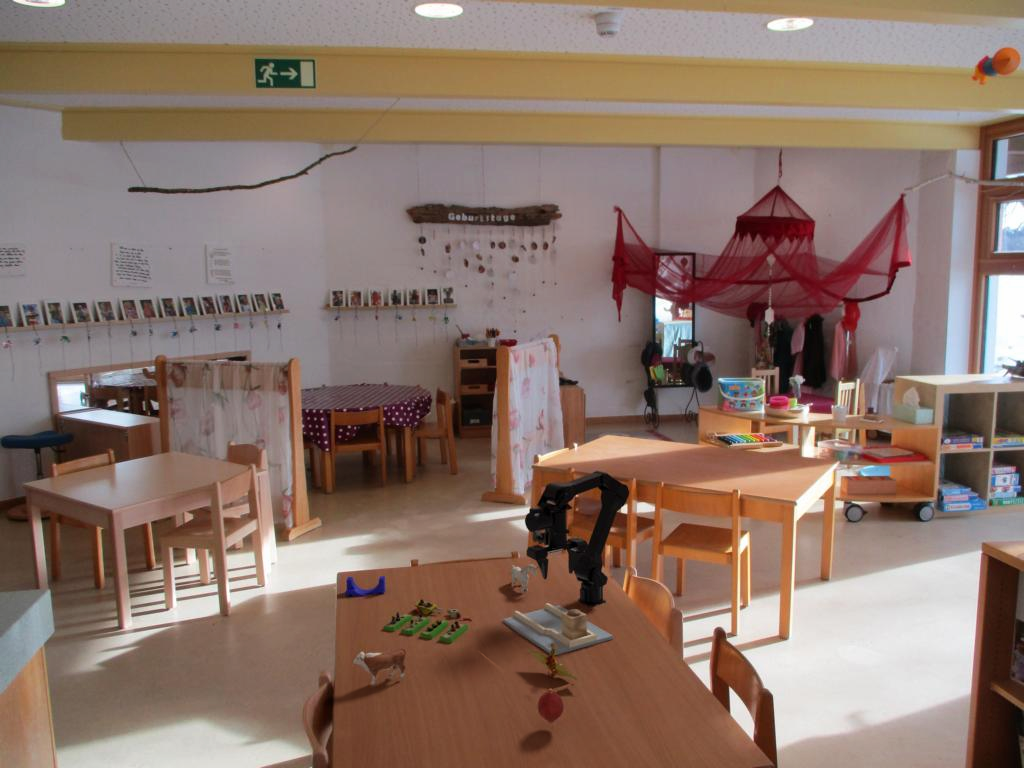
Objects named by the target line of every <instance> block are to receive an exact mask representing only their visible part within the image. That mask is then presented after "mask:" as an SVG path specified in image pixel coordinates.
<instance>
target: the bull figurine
mask: <svg viewBox="0 0 1024 768" xmlns="http://www.w3.org/2000/svg"><path fill="white" fill-rule="evenodd" d="M406 653H407V652H406V650H405V648H403V647H398V648H397V649H390V650H387V651H383V652H382V651H381V652H368V653H367V651H360V653H358V654H357V656H356V657H355V658H354V660H353V661H352V663H353V665H357V664H358V665H359V666H360V667H363V670H365V671H366V672H367V673H368V674H371V676H372V679H371V682H370V684H369V685H370V686H375V684H376V680H377V679H378V676H377V675H378V673H379V671H386V672H388V671H389V670H390V669H391V668H392V669H391V671H390V673H388V677H392V676H393V675H394V674H395V673H396V670H398V671H399V670H400V674H399V679H403V677H404V676H405V670H406V666H405V664H404V662H405V660H406Z"/></svg>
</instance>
